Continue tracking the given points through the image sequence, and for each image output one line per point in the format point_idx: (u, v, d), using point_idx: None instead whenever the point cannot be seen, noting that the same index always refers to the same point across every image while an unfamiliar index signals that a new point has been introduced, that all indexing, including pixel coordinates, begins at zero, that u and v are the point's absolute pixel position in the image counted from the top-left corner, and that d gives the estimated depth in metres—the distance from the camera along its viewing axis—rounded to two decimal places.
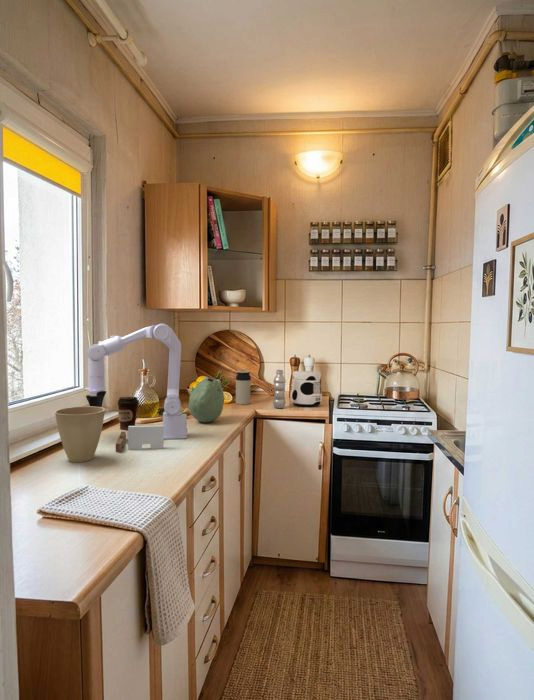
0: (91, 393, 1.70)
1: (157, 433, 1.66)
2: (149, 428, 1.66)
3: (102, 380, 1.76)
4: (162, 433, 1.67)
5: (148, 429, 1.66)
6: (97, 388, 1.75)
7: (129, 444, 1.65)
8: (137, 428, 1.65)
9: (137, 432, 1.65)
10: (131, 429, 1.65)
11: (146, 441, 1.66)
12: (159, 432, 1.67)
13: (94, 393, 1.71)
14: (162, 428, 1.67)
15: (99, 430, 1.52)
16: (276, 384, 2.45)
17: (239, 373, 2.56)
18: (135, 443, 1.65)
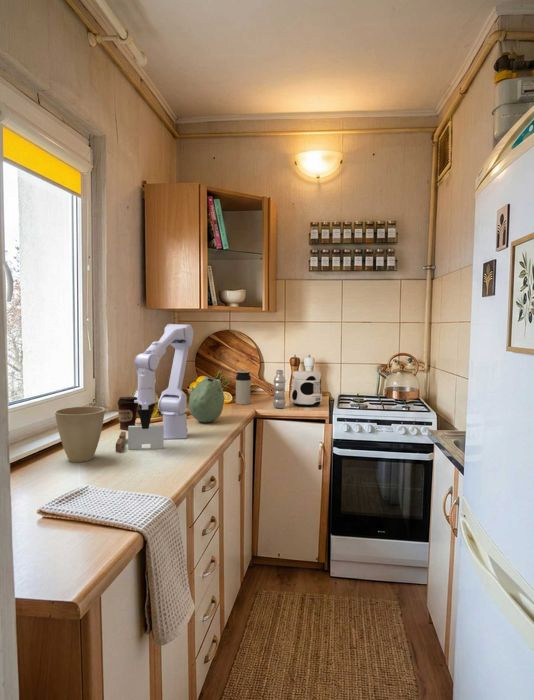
0: (143, 406, 1.59)
1: (157, 433, 1.66)
2: (149, 428, 1.66)
3: (153, 392, 1.65)
4: (162, 433, 1.67)
5: (148, 429, 1.66)
6: (148, 401, 1.63)
7: (129, 444, 1.65)
8: (137, 428, 1.65)
9: (137, 432, 1.65)
10: (131, 429, 1.65)
11: (146, 441, 1.66)
12: (159, 432, 1.67)
13: (146, 406, 1.59)
14: (162, 428, 1.67)
15: (99, 430, 1.52)
16: (276, 384, 2.45)
17: (239, 373, 2.56)
18: (135, 443, 1.65)
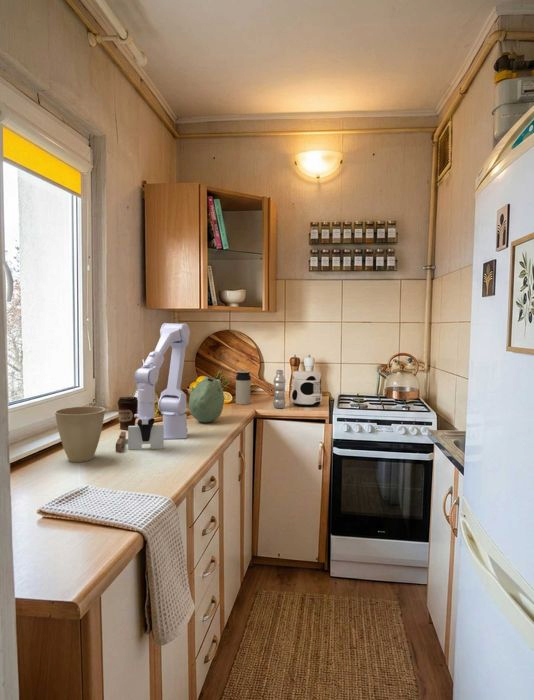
0: (143, 421, 1.59)
1: (157, 433, 1.66)
2: None
3: (153, 406, 1.65)
4: (162, 433, 1.67)
5: None
6: (148, 415, 1.63)
7: (129, 444, 1.65)
8: (137, 428, 1.65)
9: (137, 432, 1.65)
10: (131, 429, 1.65)
11: (146, 441, 1.66)
12: (159, 432, 1.67)
13: (146, 421, 1.59)
14: (162, 428, 1.67)
15: (99, 430, 1.52)
16: (276, 384, 2.45)
17: (239, 373, 2.56)
18: (135, 443, 1.65)
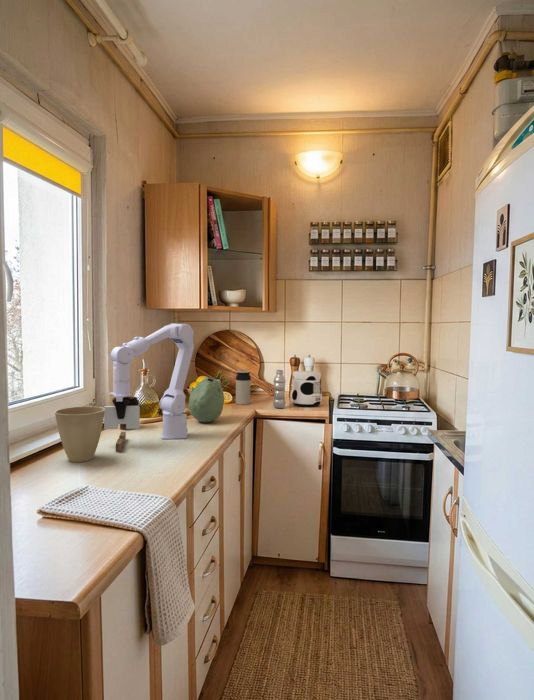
0: (117, 398, 1.62)
1: (133, 413, 1.69)
2: None
3: (128, 384, 1.68)
4: (138, 413, 1.70)
5: None
6: (122, 393, 1.66)
7: (105, 424, 1.67)
8: (113, 408, 1.68)
9: (113, 412, 1.68)
10: (107, 409, 1.67)
11: (122, 421, 1.69)
12: (135, 412, 1.69)
13: (120, 398, 1.62)
14: (138, 408, 1.69)
15: (99, 430, 1.52)
16: (276, 384, 2.45)
17: (239, 373, 2.56)
18: (111, 423, 1.68)
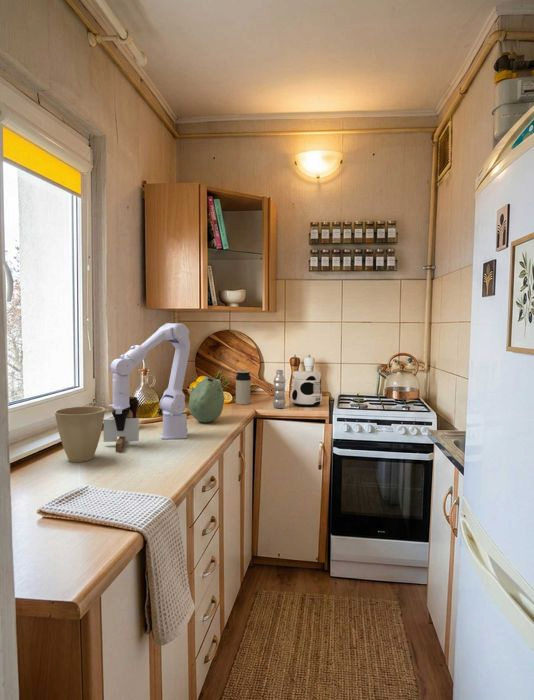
0: (116, 411, 1.62)
1: (132, 426, 1.70)
2: None
3: (127, 396, 1.68)
4: (137, 426, 1.70)
5: None
6: (122, 405, 1.66)
7: (104, 436, 1.68)
8: (112, 421, 1.68)
9: (113, 425, 1.68)
10: (106, 422, 1.68)
11: (121, 434, 1.69)
12: (134, 425, 1.70)
13: (120, 411, 1.62)
14: (137, 421, 1.70)
15: (99, 430, 1.52)
16: (276, 384, 2.45)
17: (239, 373, 2.56)
18: (110, 435, 1.68)
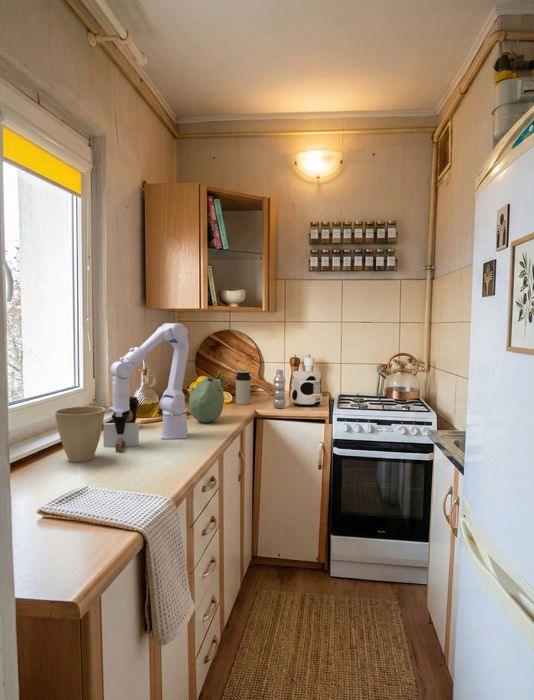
0: (116, 414, 1.62)
1: (132, 430, 1.70)
2: None
3: (127, 399, 1.68)
4: (137, 430, 1.70)
5: None
6: (122, 408, 1.67)
7: (104, 441, 1.68)
8: (112, 425, 1.68)
9: (112, 430, 1.68)
10: (106, 426, 1.68)
11: (121, 438, 1.69)
12: (134, 430, 1.70)
13: (120, 414, 1.62)
14: (137, 425, 1.70)
15: (99, 430, 1.52)
16: (276, 384, 2.45)
17: (239, 373, 2.56)
18: (110, 440, 1.68)
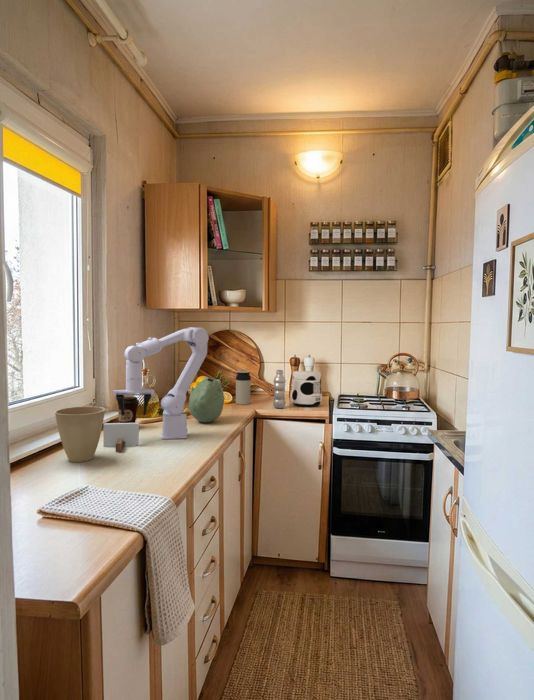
0: None
1: (132, 430, 1.70)
2: (124, 425, 1.69)
3: (129, 383, 1.73)
4: (137, 430, 1.70)
5: (123, 427, 1.69)
6: (126, 390, 1.74)
7: (104, 441, 1.68)
8: (112, 425, 1.68)
9: (112, 430, 1.68)
10: (106, 426, 1.68)
11: (121, 438, 1.69)
12: (134, 430, 1.70)
13: (113, 393, 1.74)
14: (137, 425, 1.70)
15: (99, 430, 1.52)
16: (276, 384, 2.45)
17: (239, 373, 2.56)
18: (110, 440, 1.68)
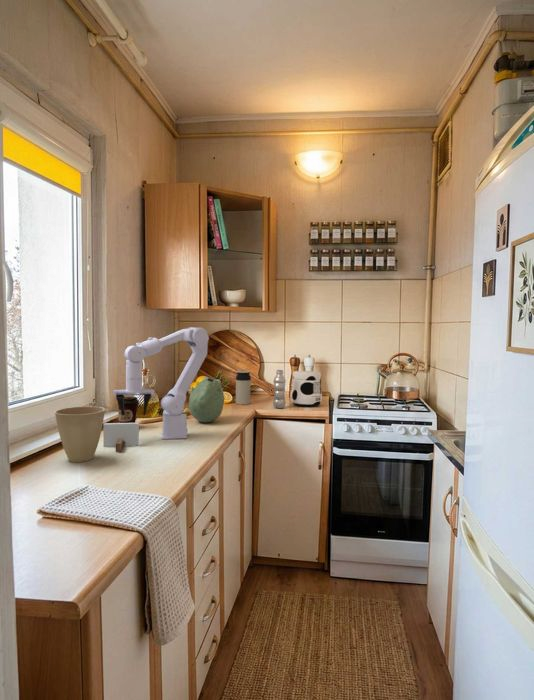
0: None
1: (132, 430, 1.70)
2: (124, 425, 1.69)
3: (129, 382, 1.73)
4: (137, 430, 1.70)
5: (123, 427, 1.69)
6: (126, 390, 1.74)
7: (104, 441, 1.68)
8: (112, 425, 1.68)
9: (112, 430, 1.68)
10: (106, 426, 1.68)
11: (121, 438, 1.69)
12: (134, 430, 1.70)
13: (113, 393, 1.74)
14: (137, 425, 1.70)
15: (99, 430, 1.52)
16: (276, 384, 2.45)
17: (239, 373, 2.56)
18: (110, 440, 1.68)
